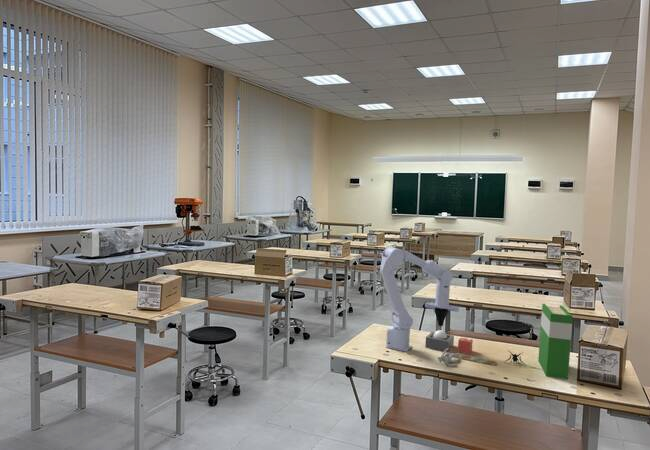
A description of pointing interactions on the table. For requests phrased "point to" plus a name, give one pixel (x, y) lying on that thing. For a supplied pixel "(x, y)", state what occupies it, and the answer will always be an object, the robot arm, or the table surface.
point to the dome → (440, 335)
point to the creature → (515, 358)
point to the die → (465, 345)
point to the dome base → (439, 342)
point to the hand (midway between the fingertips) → (440, 325)
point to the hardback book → (555, 341)
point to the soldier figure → (448, 358)
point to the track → (473, 359)
